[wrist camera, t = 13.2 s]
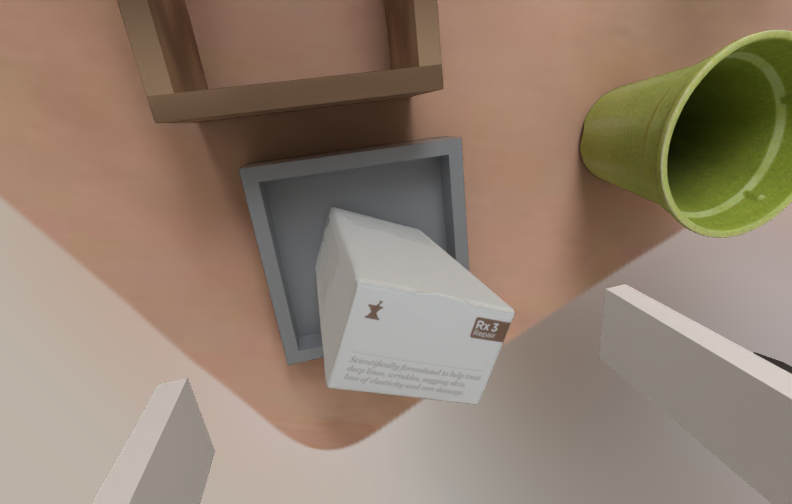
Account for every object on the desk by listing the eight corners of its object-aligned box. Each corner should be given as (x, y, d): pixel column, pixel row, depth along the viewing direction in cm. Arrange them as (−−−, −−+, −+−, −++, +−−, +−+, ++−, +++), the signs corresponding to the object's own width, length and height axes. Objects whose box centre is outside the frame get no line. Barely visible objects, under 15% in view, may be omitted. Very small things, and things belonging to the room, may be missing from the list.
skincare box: (313, 269, 24) (314, 399, 13) (331, 200, 23) (348, 276, 12) (405, 288, 26) (477, 418, 15) (426, 225, 25) (522, 312, 13)
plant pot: (602, 230, 28) (716, 273, 20) (527, 137, 25) (629, 145, 17) (699, 134, 28) (859, 140, 20) (635, 24, 24) (797, -24, 16)
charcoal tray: (246, 163, 22) (238, 168, 20) (447, 136, 24) (461, 137, 22) (290, 343, 26) (288, 364, 24) (458, 308, 28) (472, 325, 26)
